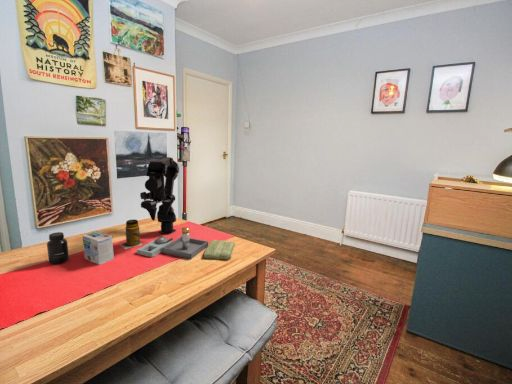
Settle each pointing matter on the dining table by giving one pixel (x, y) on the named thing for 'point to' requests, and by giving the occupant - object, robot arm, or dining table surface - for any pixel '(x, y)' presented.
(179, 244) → the tray
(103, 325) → the dining table surface
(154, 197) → the robot arm
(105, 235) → the light bulb box
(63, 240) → the supplement bottle
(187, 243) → the lock pin
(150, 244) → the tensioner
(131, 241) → the condiment
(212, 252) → the washcloth
